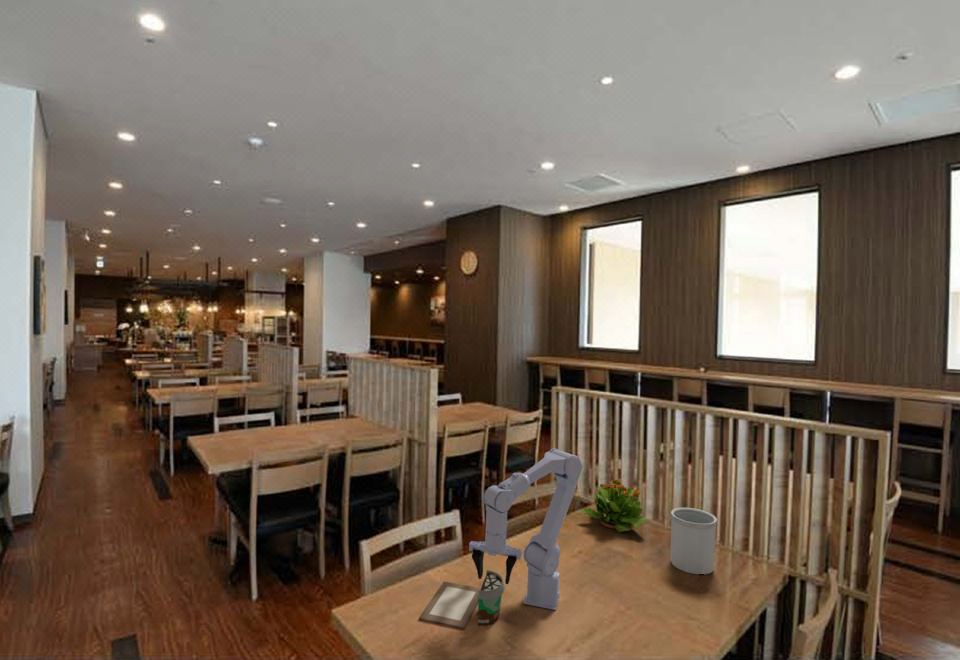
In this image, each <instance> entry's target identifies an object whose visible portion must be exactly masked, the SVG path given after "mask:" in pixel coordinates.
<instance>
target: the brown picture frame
mask: <svg viewBox="0 0 960 660" xmlns="http://www.w3.org/2000/svg"><path fill="white" fill-rule="evenodd" d="M479 590H481V587H476V586H470V585H465V584H461V583H456V582H455V583H454V582H449V581H443V582H442V583H441V584H440V586H439V588H438V589H437V590H436V592H435V594H434V595H433V596H432V598H431V599H430V601H429V602H428V604H427V605H426V607H425V608H424V610H423V611H422V612H421V614H419V617H418V620H419V621H422V622H426V621H427V623H432V624H437V625H440V626H445V627H449V628H455V629H458V630H459V629H460V630H464V631H465V629H466V628H467V626H468V624H469V622H470V620H471V619H472V616H473V614H474V612H475V610H476V609H477V606H478V593H479Z"/></svg>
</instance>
